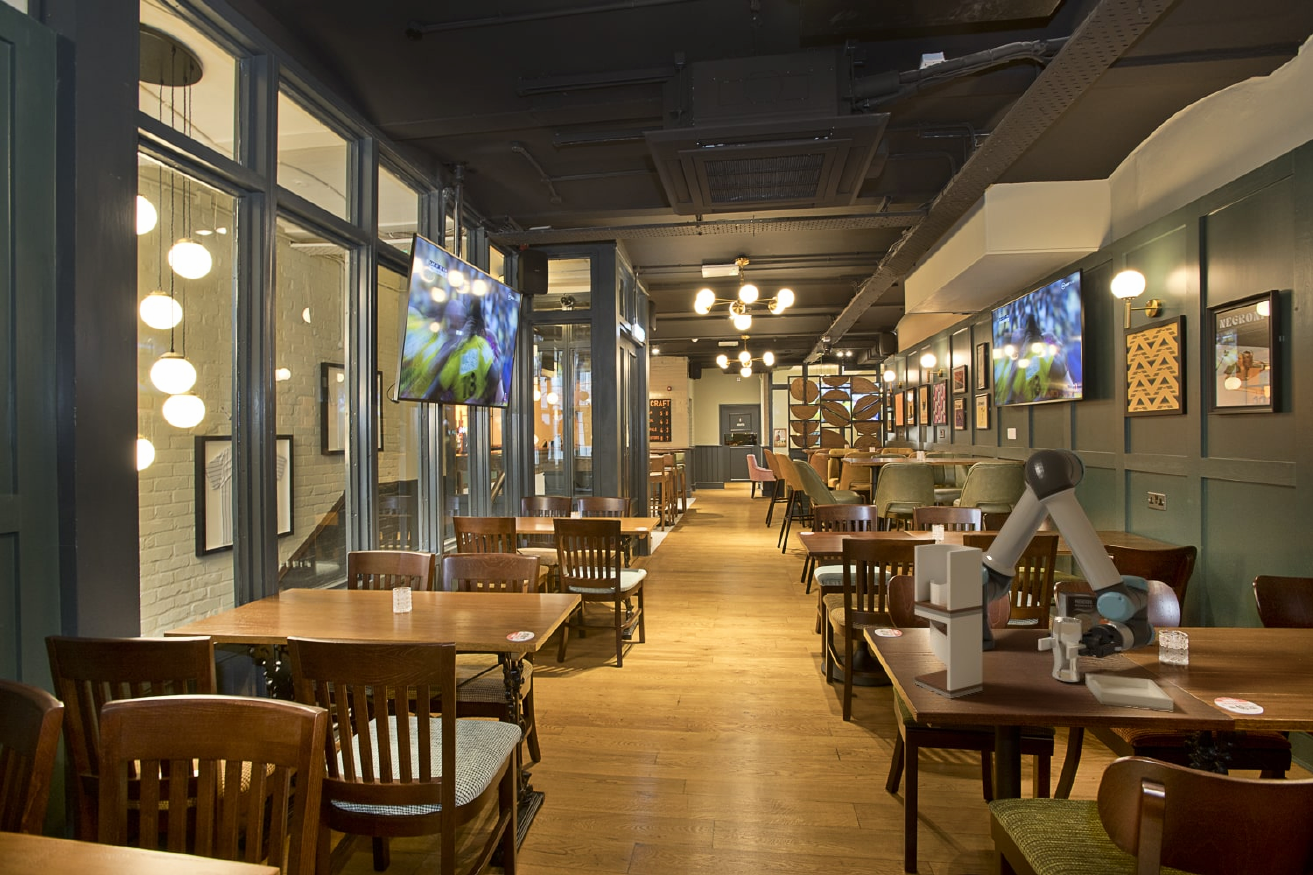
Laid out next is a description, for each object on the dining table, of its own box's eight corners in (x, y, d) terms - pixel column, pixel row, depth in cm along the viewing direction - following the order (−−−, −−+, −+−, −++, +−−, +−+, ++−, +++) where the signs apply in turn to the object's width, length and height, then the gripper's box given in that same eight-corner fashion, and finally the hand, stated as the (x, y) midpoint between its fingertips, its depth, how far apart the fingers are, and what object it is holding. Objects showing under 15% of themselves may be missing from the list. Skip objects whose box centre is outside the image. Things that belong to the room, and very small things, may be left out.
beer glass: (1086, 683, 168) (1087, 624, 168) (1056, 681, 170) (1057, 622, 169) (1075, 674, 175) (1076, 616, 175) (1046, 671, 176) (1046, 615, 176)
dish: (1101, 704, 157) (1101, 692, 157) (1085, 683, 170) (1085, 672, 170) (1173, 712, 152) (1173, 700, 152) (1151, 690, 165) (1151, 679, 165)
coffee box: (1066, 650, 198) (1066, 595, 198) (1057, 643, 204) (1057, 590, 204) (1100, 651, 196) (1100, 597, 196) (1090, 645, 202) (1090, 592, 202)
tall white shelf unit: (946, 677, 174) (945, 542, 174) (982, 691, 165) (982, 548, 165) (914, 684, 169) (914, 546, 169) (950, 699, 160) (950, 552, 160)
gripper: (1149, 663, 171) (1092, 676, 161) (1072, 641, 189) (1017, 652, 179) (1149, 633, 171) (1093, 645, 161) (1073, 615, 189) (1018, 624, 179)
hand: (1053, 649), depth 170 cm, fingers closed on beer glass, 7 cm apart
